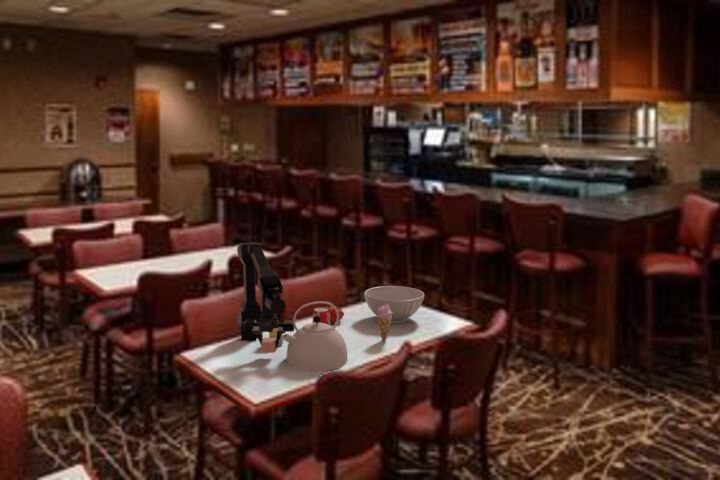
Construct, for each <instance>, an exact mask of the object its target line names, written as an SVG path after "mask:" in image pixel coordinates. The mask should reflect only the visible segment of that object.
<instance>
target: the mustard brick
mask: <svg viewBox="0 0 720 480" xmlns="http://www.w3.org/2000/svg"><path fill="white" fill-rule="evenodd" d="M277 331H278V328H275V329H273V331H272V332H268V338H269V337H277ZM282 335H284V333H282ZM282 335H281V337H282Z"/></svg>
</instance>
